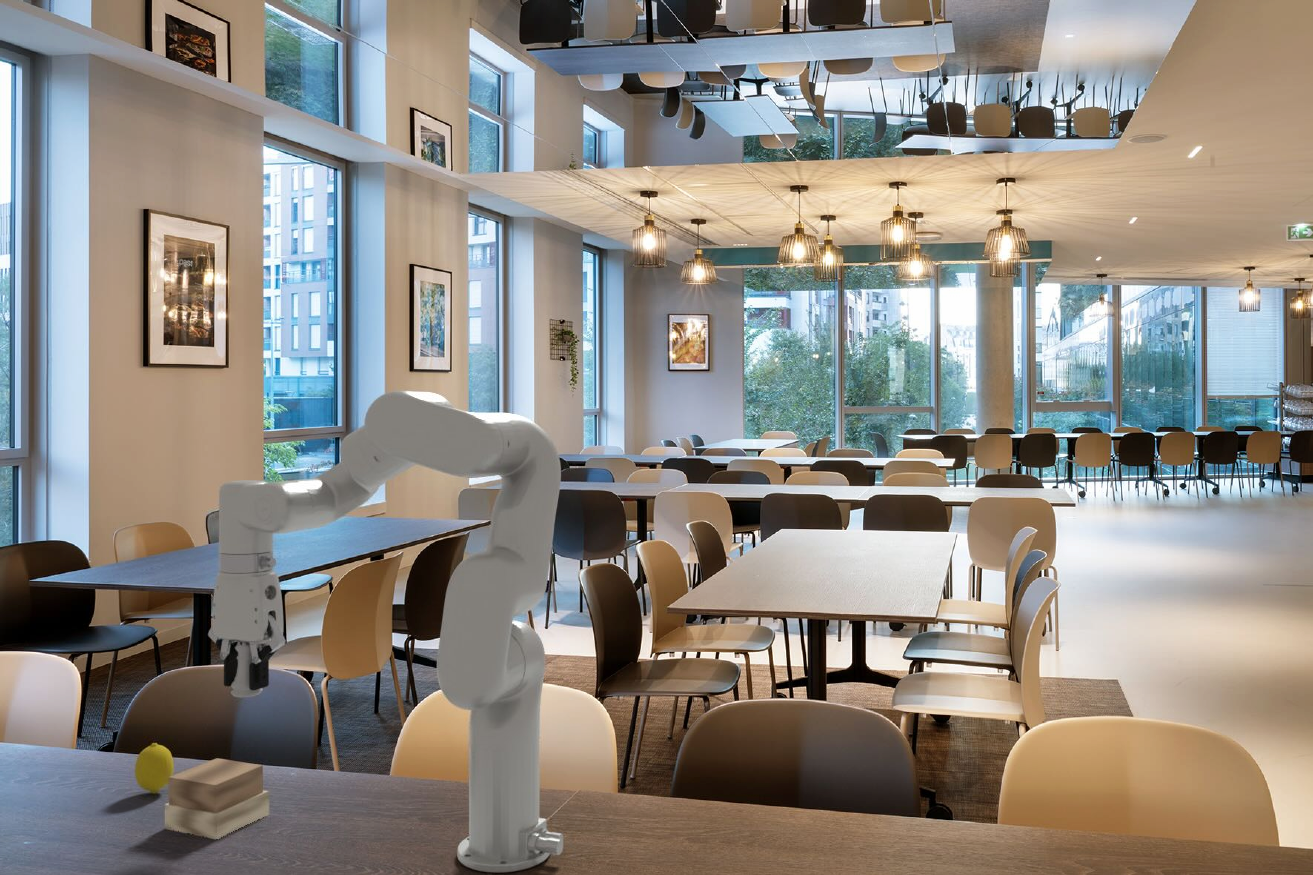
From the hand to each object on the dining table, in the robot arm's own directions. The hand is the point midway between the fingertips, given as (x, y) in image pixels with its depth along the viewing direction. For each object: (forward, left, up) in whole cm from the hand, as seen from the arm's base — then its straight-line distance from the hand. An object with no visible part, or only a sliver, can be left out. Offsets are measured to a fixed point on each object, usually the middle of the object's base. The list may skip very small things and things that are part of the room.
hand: (246, 685), depth 154 cm
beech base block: (+2, +3, -20) cm, 21 cm away
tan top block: (+2, +3, -16) cm, 17 cm away
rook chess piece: (0, 0, -2) cm, 2 cm away
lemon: (+21, -2, -20) cm, 29 cm away
